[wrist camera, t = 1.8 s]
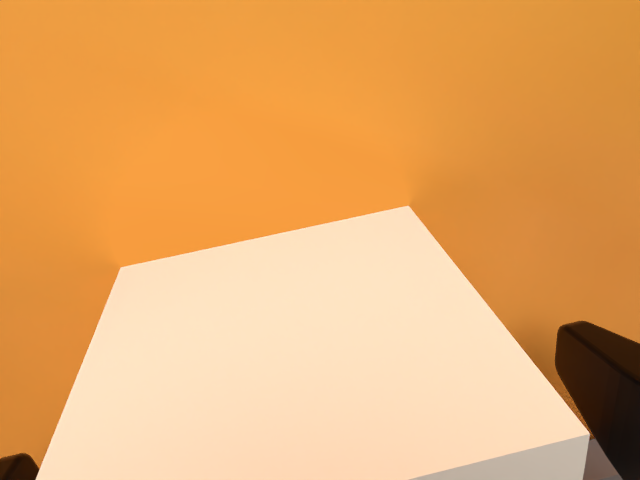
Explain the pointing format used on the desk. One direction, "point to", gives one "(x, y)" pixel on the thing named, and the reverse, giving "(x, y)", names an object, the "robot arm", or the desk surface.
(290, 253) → the block
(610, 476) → the rail board
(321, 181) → the desk surface
